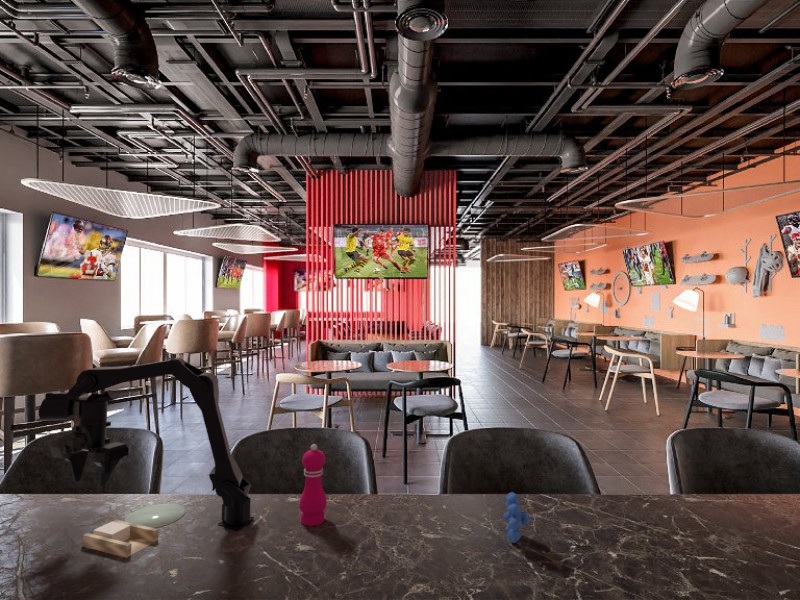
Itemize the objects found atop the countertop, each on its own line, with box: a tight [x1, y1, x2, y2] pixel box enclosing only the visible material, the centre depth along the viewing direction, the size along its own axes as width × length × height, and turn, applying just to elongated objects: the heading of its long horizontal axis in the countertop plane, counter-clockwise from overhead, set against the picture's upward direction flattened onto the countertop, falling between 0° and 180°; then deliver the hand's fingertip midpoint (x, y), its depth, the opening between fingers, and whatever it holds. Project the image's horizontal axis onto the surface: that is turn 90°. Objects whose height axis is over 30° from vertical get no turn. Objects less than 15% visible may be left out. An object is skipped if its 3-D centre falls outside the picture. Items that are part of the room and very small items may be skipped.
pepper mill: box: [298, 443, 328, 527], centre depth 113 cm, size 7×7×20 cm
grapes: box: [502, 491, 532, 544], centre depth 103 cm, size 12×7×12 cm, turn 171°
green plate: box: [124, 503, 186, 529], centre depth 114 cm, size 14×14×1 cm
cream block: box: [92, 521, 130, 542], centre depth 101 cm, size 6×4×3 cm
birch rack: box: [81, 519, 159, 558], centre depth 100 cm, size 14×8×3 cm, turn 71°
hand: (89, 483), depth 104 cm, fingers open, 8 cm apart
